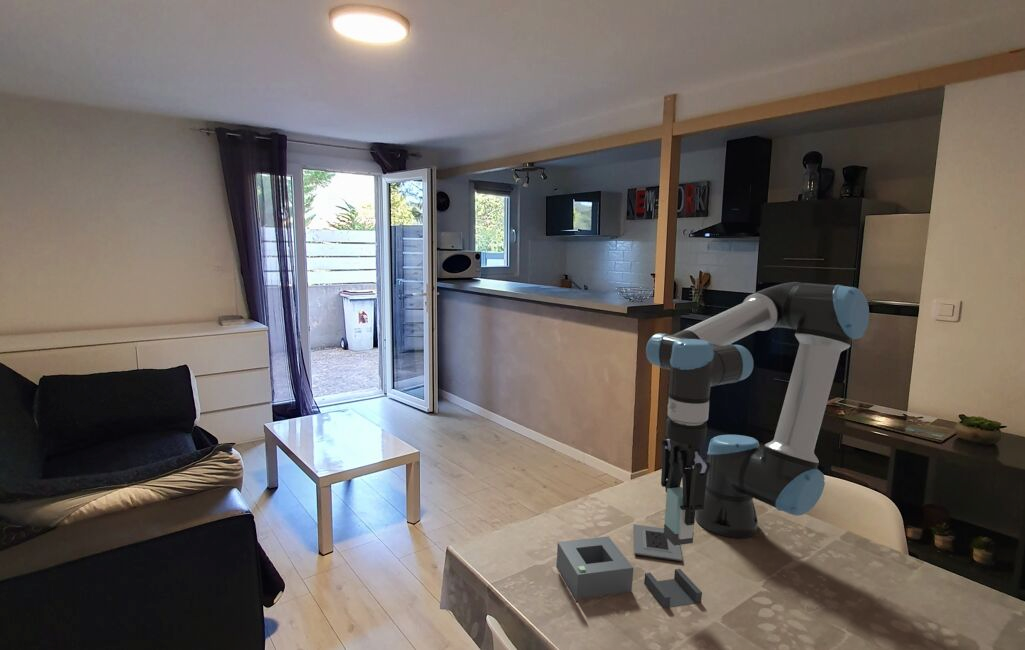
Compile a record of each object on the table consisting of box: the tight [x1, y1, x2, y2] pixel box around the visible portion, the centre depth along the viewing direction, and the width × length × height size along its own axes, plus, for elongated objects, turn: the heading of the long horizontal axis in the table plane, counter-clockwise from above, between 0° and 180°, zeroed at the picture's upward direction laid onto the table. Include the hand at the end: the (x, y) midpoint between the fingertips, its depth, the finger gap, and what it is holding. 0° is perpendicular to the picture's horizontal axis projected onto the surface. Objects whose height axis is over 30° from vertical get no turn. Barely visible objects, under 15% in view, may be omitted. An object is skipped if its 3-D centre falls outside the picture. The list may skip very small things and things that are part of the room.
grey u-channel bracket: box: [643, 568, 703, 609], centre depth 109 cm, size 8×8×3 cm
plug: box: [663, 486, 695, 546], centre depth 107 cm, size 4×4×10 cm
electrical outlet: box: [632, 523, 684, 563], centre depth 127 cm, size 13×10×2 cm
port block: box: [556, 536, 634, 603], centre depth 113 cm, size 12×12×6 cm
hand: (678, 530), depth 108 cm, fingers closed on plug, 4 cm apart
